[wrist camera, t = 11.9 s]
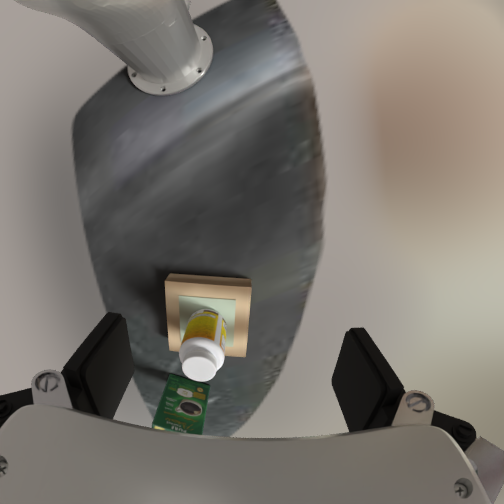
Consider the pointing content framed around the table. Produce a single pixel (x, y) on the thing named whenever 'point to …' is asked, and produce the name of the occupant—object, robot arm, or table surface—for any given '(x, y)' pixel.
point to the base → (209, 307)
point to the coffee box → (182, 406)
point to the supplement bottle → (203, 345)
